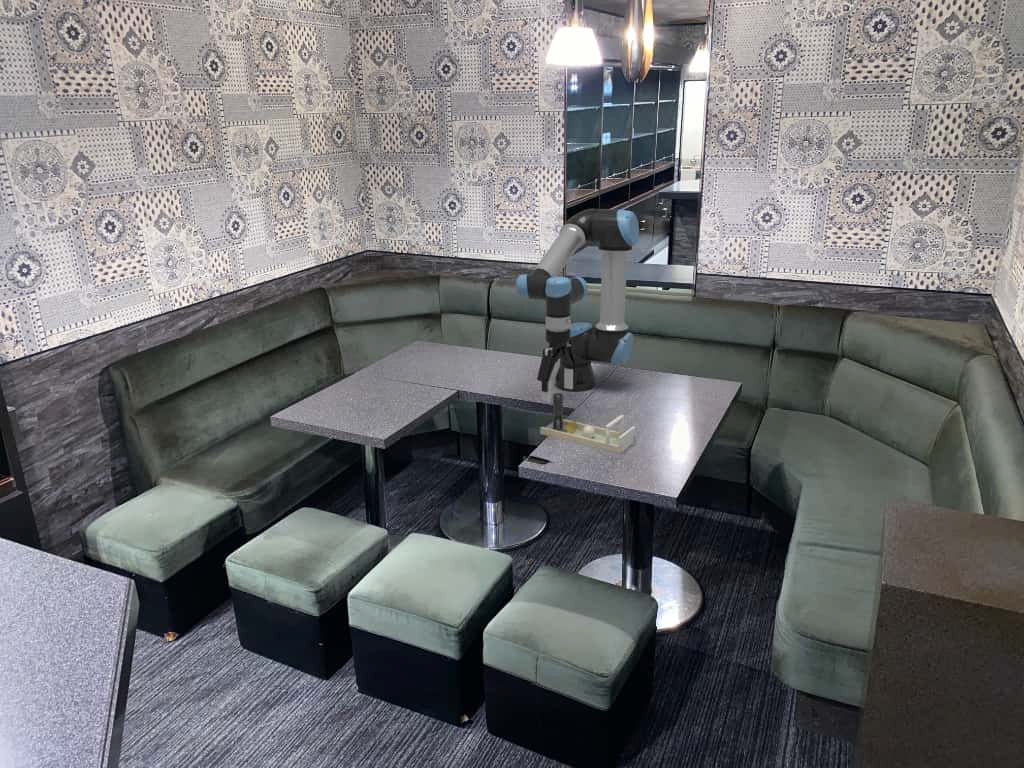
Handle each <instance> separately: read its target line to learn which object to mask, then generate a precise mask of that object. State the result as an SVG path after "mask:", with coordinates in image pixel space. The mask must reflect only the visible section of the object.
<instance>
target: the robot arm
mask: <svg viewBox="0 0 1024 768" xmlns="http://www.w3.org/2000/svg"><path fill="white" fill-rule="evenodd" d="M639 226H640V225H639V221H638V218H637V216H636V214H635V213H634V212H633V211H632V210H625V209H616V208H614V209H611V208H610V209H608V208H588V209H584V210H582V211H580V212H578V213H576V214H574V215H573V216H571V217H570V218H569V219H568V220H567V221H566V222H565V223H564V224H563V225H562V226H561V227H560V229H559V231H558V232H559V233H558V236H557V238H556V239H555V240H554V242H553V243H552V245H551V246H550V247H549V248H548V250H547V251H546V253H545V254H544V256H543V257H542V258H541V259H540V261H539V262H538V263H537V265H536V266H535V267H534V269H533V270H532V271H531V272H530V274H528V273H525V274H520V275H519V276H517V279H516V281H515V291H516V294H517V296H518V297H520V298H523V299H528V300H536V301H537V300H540V301H545V328H546V329H545V341H546V342H547V343H548V348H546V347H545V348H543V349H542V357H541V362H540V365H539V369H538V373H537V377H536V381H538V382H541V401H543V402H547V403H550V402H551V399H552V398H551V396H552V394H551V390H552V386H551V384H552V383H551V380H550V379H551V376H552V374H553V371H554V369H555V366H556V363H558V362H559V366H558V369H557V371H556V375H555V378H554V386H555V387H557V388H558V389H561V390H563V391H567V392H568V391H569V392H582V391H587V390H591V389H594V388H595V387H596V383H597V382H596V380H597V379H596V376H595V375H596V374H595V373H594V370H593V367H592V361H593V362H596V363H605V364H610V365H623V364H625V363H627V361H629V360H628V359H629V358H630V356H631V354H632V350H633V347H634V334H633V333H631V332H629V325H628V324H626V322H625V317H626V316H625V314H626V313H625V312H626V311H625V310H626V289H627V273H628V272H627V270H628V255H629V254H630V253H631V252H632V251H633V246H636V245H637V243H638V241H639V237H640V227H639ZM589 243H590V244H591V243H593V244H598V246H597V247H598V249H597V250H598V251H599V252H600V253H601V255H602V256H601V257H602V260H601V283H600V286H601V287H600V288H601V289H600V307H599V309H600V313H599V321H598V322H597V324H595V328H593V324H592V323H590V322H586V321H583V322H580V321H579V322H572V320H571V313H572V312H571V310H572V309H571V308H572V305H574V304H576V303H577V302H580V301H582V299H584V298H585V297H586V296H587V294H588V291H589V286H588V284H587V281H586V280H585V279H584V278H583V277H581V276H571V277H565V276H559V274H560V273H561V272H562V270H563V269H564V268H565V266H566V265H567V263H569V261H570V259H571V258H572V256H573V255H574V254H575V252H576V251H577V250H578V249H580V248H582V247H583V246H584V245H585V244H589ZM571 322H572V323H571Z"/></svg>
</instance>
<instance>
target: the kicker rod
mask: <svg viewBox="0 0 1024 768" xmlns="http://www.w3.org/2000/svg"><path fill="white" fill-rule="evenodd" d="M552 396H553V397H552V408H553V410H552V418H553V419H552V422H551V423H549V424H547V425H546V426H545V428H549V429H553V430H557V431H561V432H565V433H570V434H571V433H573V432H574V431H576V422H577V421H575V420H574V421H573V420H572V421H573V422H571V423H570V424H568V425H566V424H563V419H564V416H563V415H564V414H563V413H564V412H563V411H564V410H563V407H564V403H563V402H564V398H563V397H564V394H562V393H560V392H558V393H557V392H556V393H553V394H552Z"/></svg>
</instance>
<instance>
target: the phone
mask: <svg viewBox="0 0 1024 768" xmlns="http://www.w3.org/2000/svg"><path fill="white" fill-rule="evenodd" d="M530 455H531V454H527V453H526V454H523V456H522V461H523V460H524V461H526V459H528V460H527V461H526V462H530V463H534V462H535V463H534V464H539V465H546V464H548V463H549V462H551V461H550V460H549V459H545V458H542V457H538V456H533V455H531V456H530ZM529 456H530V457H529ZM528 457H529V458H528Z"/></svg>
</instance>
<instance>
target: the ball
mask: <svg viewBox="0 0 1024 768" xmlns="http://www.w3.org/2000/svg"><path fill="white" fill-rule="evenodd" d="M592 426H593V425H591V426H585V427H584V428H583V430H582V435H583V436H584V437H586V438H592V437H593V436H594V434H595V430H594V428H593V427H592Z"/></svg>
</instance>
